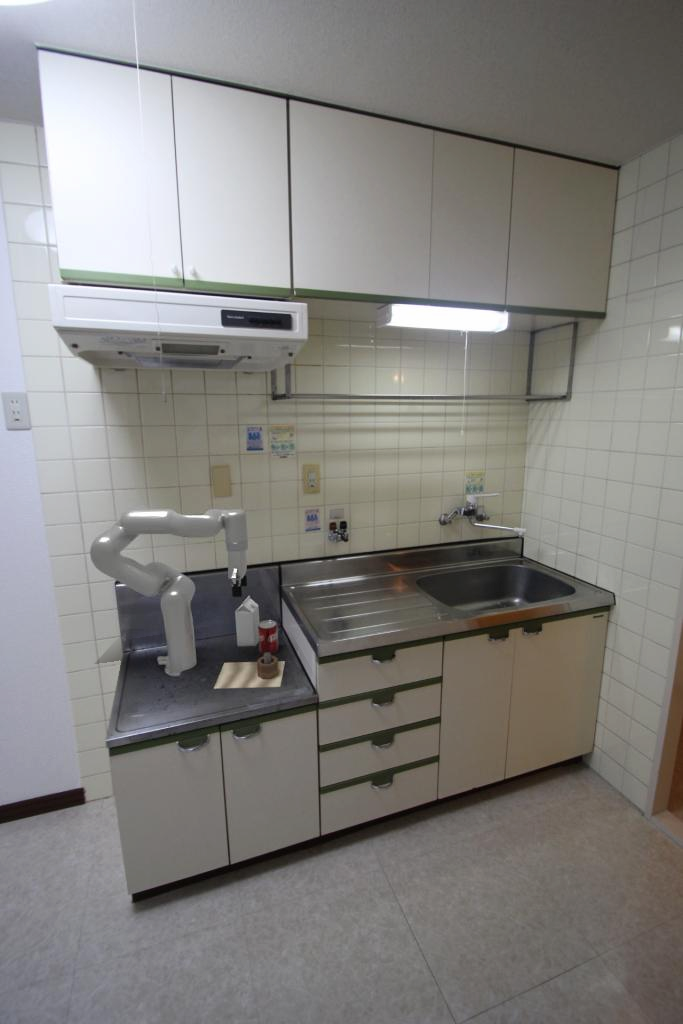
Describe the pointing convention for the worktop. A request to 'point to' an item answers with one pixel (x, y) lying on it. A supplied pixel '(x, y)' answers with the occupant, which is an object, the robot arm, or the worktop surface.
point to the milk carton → (247, 623)
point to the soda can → (268, 636)
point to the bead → (267, 668)
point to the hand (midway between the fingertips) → (240, 591)
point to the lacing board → (247, 675)
